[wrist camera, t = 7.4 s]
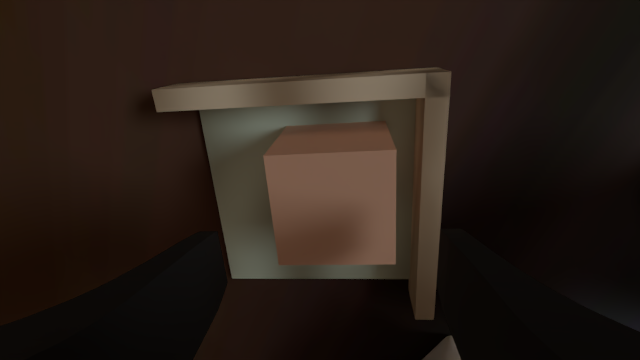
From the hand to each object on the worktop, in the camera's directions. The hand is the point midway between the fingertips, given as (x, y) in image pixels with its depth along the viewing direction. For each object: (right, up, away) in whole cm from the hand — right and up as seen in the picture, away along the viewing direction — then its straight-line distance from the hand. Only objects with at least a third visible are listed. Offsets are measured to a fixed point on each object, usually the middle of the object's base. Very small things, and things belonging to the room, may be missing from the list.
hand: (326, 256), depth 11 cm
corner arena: (0, +2, +8) cm, 8 cm away
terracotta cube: (+1, +3, +7) cm, 8 cm away
